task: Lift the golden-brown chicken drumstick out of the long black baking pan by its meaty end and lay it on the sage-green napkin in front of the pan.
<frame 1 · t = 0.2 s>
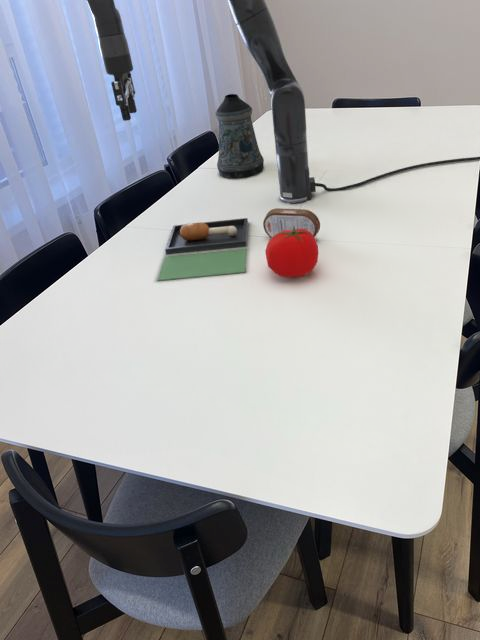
hand: (130, 116, 164), 29 cm above the table, tool pointing down, fingers open, 8 cm apart
drumstick: (203, 238, 159), resting on pan
beer stein: (239, 171, 205), on the table
tin: (292, 240, 153), on the table
napkin: (203, 264, 147), on the table
tomato: (294, 272, 138), on the table
pan: (208, 239, 160), on the table
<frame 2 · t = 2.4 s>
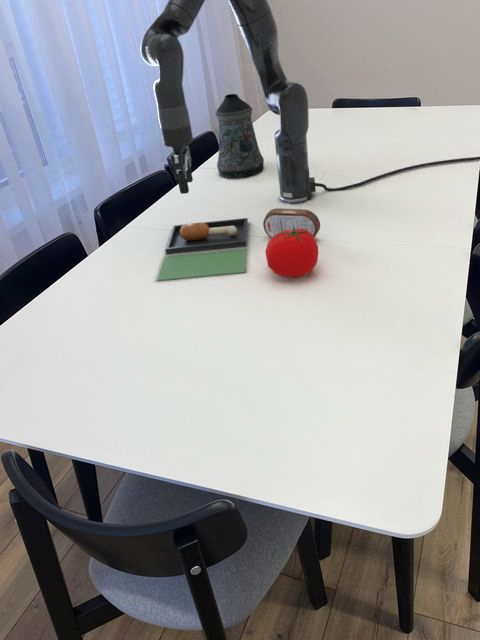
hand: (186, 187, 152), 15 cm above the table, tool pointing down, fingers open, 8 cm apart
nothing on the table moved.
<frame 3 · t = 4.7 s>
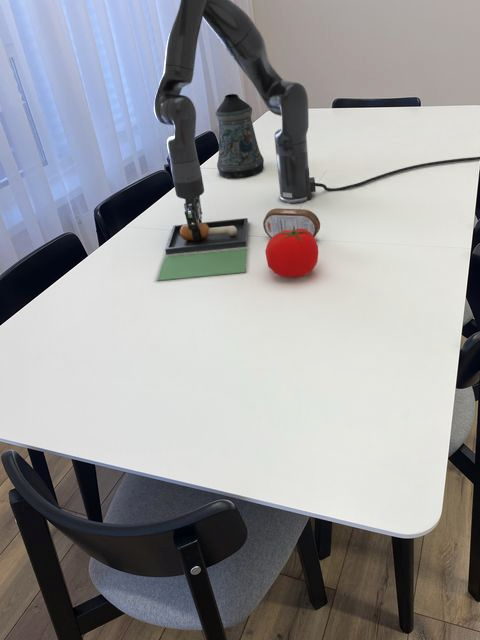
hand: (198, 236, 159), 1 cm above the table, tool pointing down, fingers closed on drumstick, 4 cm apart
drumstick: (203, 238, 159), resting on pan, touching gripper
everything else where it was.
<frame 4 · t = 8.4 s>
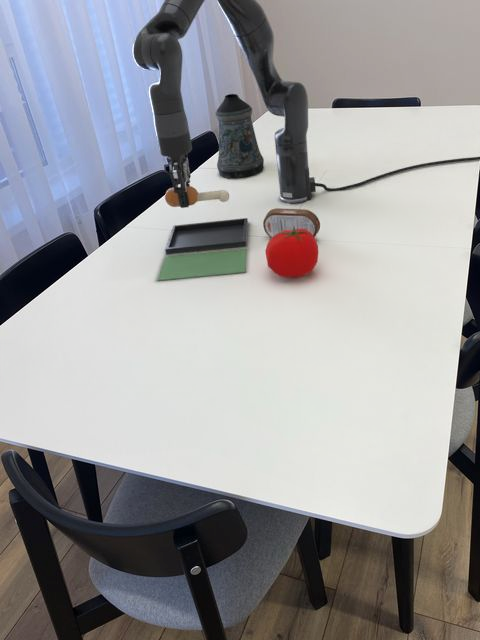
hand: (186, 202, 141), 15 cm above the table, tool pointing down, fingers closed on drumstick, 4 cm apart
drumstick: (191, 204, 141), point 15 cm above the table, touching gripper
everything else where it was.
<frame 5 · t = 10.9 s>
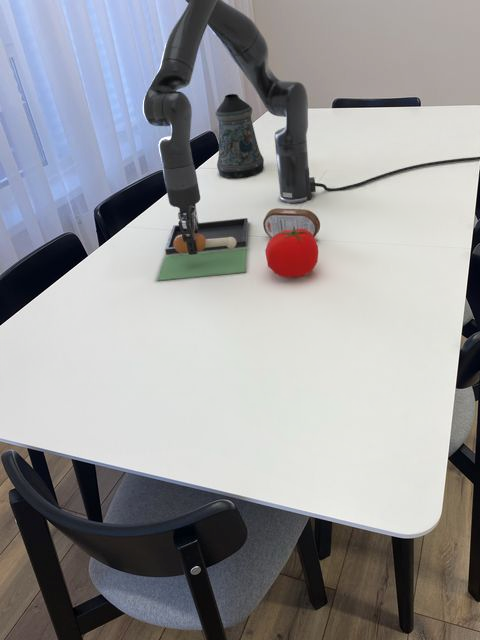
hand: (194, 248, 144), 5 cm above the table, tool pointing down, fingers closed on drumstick, 4 cm apart
drumstick: (199, 250, 145), point 4 cm above the table, touching gripper
everything else where it was.
when the fingers open (1 cm above the table, at t = 12.3 s): drumstick stays where it is, resting on napkin.
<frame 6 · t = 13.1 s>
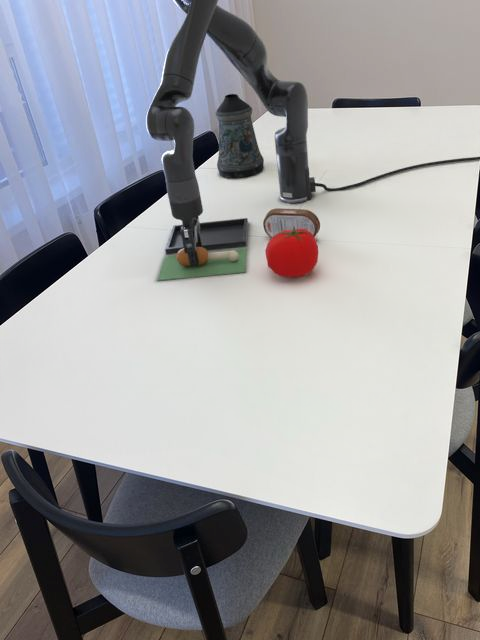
hand: (196, 257, 146), 2 cm above the table, tool pointing down, fingers open, 8 cm apart
drumstick: (202, 263, 147), resting on napkin
everything else where it was.
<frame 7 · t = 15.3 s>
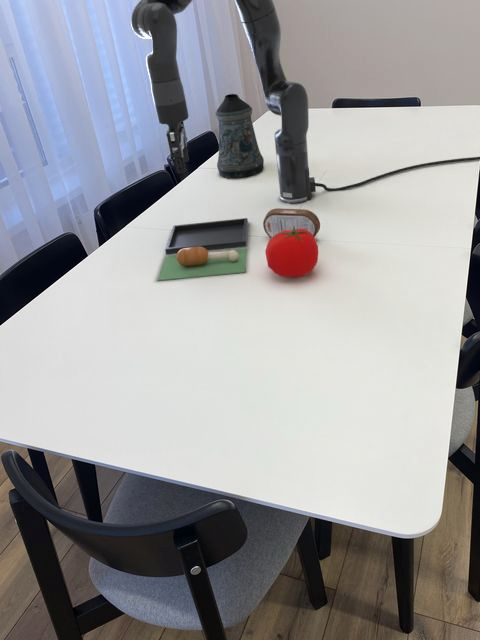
hand: (183, 167, 146), 21 cm above the table, tool pointing down, fingers open, 8 cm apart
nothing on the table moved.
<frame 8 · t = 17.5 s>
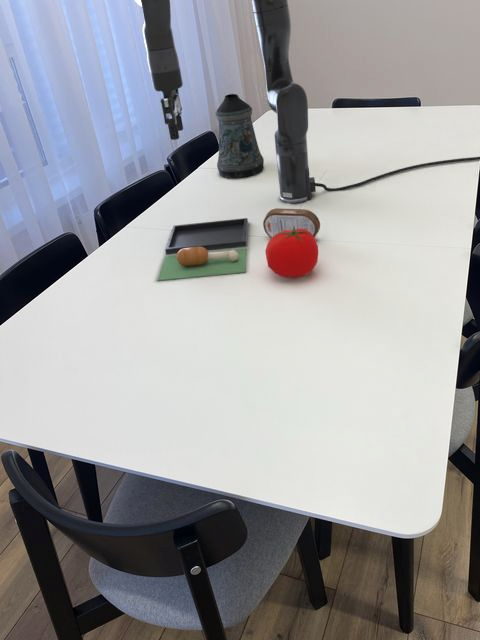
hand: (177, 134, 153), 26 cm above the table, tool pointing down, fingers open, 8 cm apart
nothing on the table moved.
at the end: drumstick inside the target area on the napkin (0.4 cm from its centre), point 0.3 cm above the napkin's base; drumstick touching napkin; the gripper is holding nothing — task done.
